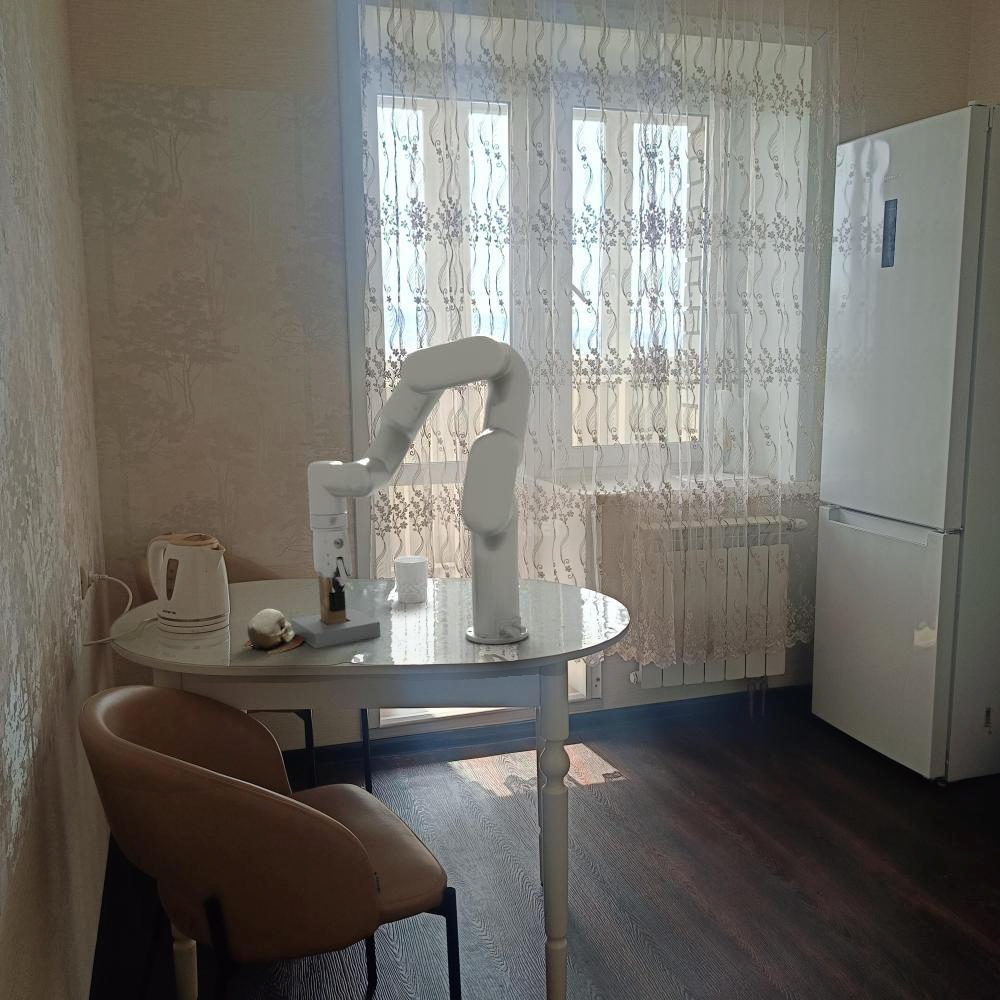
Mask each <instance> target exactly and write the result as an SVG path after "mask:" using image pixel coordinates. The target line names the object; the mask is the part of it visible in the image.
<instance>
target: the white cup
mask: <svg viewBox="0 0 1000 1000" xmlns="http://www.w3.org/2000/svg"><path fill="white" fill-rule="evenodd" d="M428 560H429V559H428V557H427V556H423V555H407V556H401V557H400V556H399V557H396V558H394V561H393V563H394V572H395V573H394V574H395V583H396V590H397V599H398V600H397V601H398V602H399V603H401V602H402V603H403V604H419V603H423V602H426V601H427V600H428V572H429V571H428V570H429V569H428V563H429V562H428ZM425 600H426V601H425ZM402 603H401V604H402Z"/></svg>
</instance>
